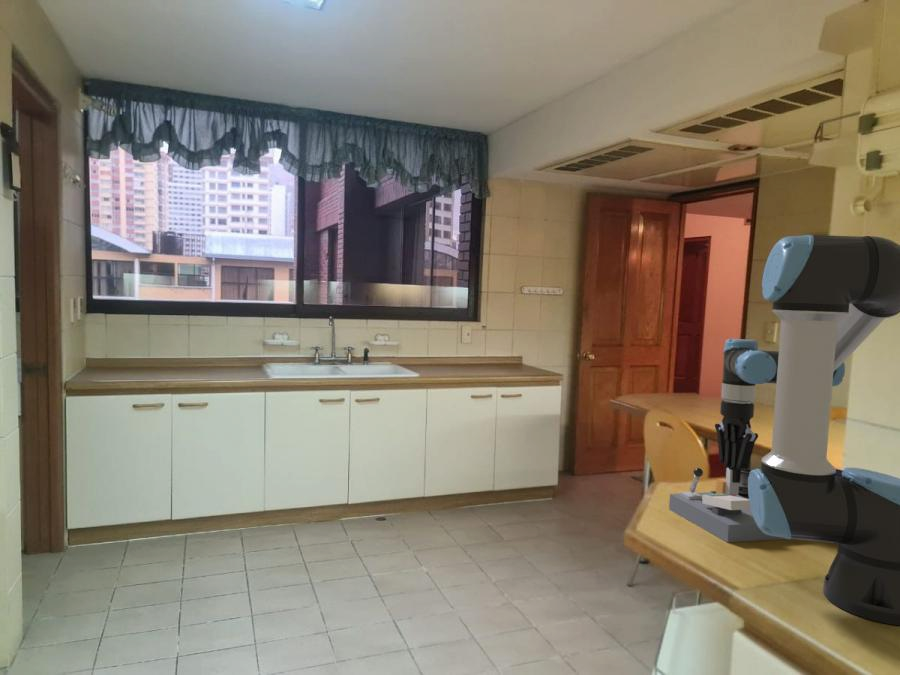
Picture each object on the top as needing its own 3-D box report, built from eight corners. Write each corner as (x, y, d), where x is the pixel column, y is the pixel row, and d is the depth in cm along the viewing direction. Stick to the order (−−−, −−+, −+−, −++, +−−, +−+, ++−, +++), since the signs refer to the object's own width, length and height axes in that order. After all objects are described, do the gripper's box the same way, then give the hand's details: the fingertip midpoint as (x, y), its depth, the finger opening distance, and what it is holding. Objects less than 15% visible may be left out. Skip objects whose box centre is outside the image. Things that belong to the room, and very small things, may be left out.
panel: (795, 538, 137) (796, 514, 137) (727, 542, 133) (729, 518, 133) (728, 506, 159) (730, 485, 158) (668, 508, 155) (669, 487, 154)
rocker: (753, 509, 136) (753, 499, 137) (731, 510, 135) (730, 500, 135) (724, 502, 146) (723, 493, 146) (702, 503, 145) (702, 494, 145)
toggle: (697, 495, 151) (705, 471, 148) (690, 495, 151) (698, 471, 148) (692, 489, 153) (700, 465, 150) (685, 490, 153) (693, 466, 150)
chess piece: (758, 500, 165) (761, 457, 164) (737, 499, 165) (740, 456, 164) (748, 493, 171) (751, 452, 170) (727, 493, 171) (730, 451, 170)
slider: (735, 496, 152) (736, 481, 152) (722, 497, 151) (723, 481, 151) (729, 493, 154) (730, 478, 154) (715, 494, 153) (716, 479, 153)
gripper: (769, 405, 144) (763, 501, 145) (732, 396, 157) (726, 485, 158) (743, 405, 142) (736, 503, 144) (707, 396, 155) (702, 486, 156)
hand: (731, 493), depth 151 cm, fingers closed
